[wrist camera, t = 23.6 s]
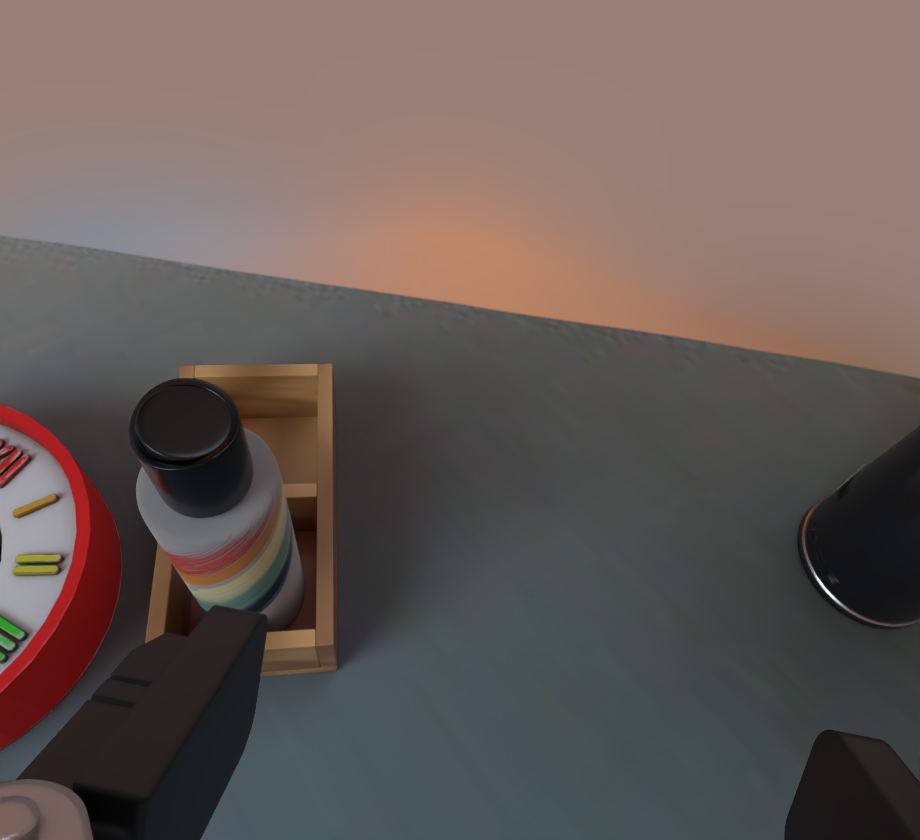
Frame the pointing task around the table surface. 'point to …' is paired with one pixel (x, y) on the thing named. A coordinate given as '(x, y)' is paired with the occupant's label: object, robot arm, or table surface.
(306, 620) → the wooden organizer box
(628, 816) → the table surface
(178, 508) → the lotion bottle
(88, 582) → the toy clock
